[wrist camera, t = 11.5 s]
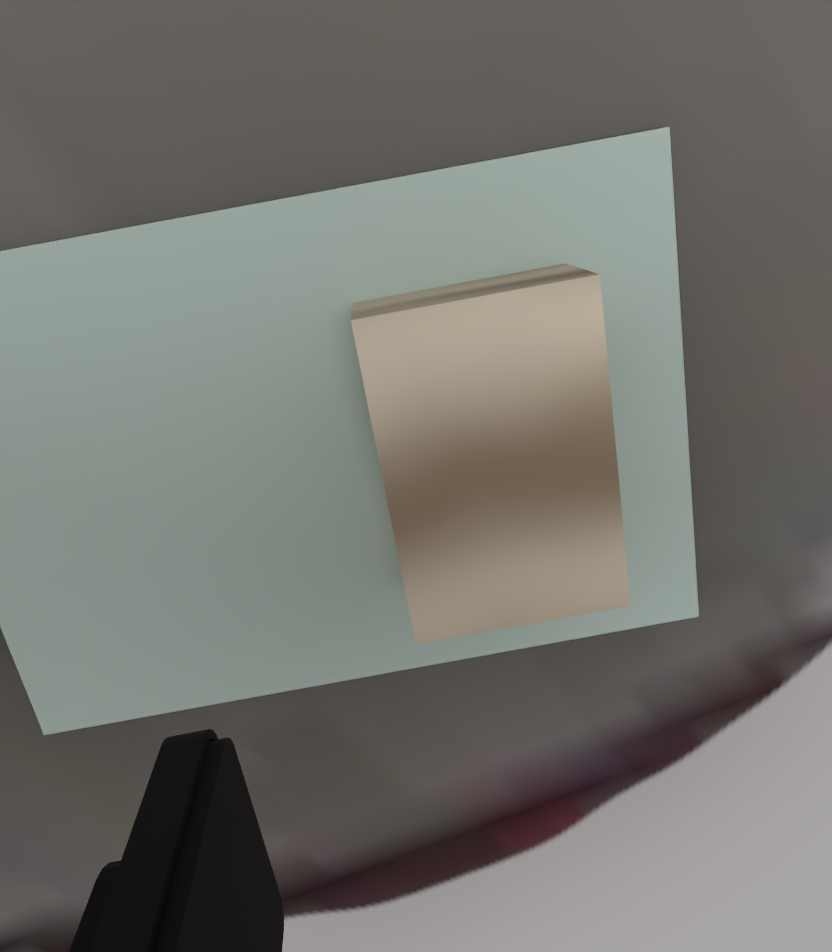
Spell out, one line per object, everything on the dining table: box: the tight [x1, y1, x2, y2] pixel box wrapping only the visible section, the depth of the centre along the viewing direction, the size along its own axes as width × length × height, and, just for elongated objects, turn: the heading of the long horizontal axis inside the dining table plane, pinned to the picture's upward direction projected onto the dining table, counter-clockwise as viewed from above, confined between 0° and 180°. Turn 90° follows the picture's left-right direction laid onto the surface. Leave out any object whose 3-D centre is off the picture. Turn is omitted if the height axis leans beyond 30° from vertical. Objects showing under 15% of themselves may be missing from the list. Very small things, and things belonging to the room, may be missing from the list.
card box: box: [351, 263, 631, 645], centre depth 22 cm, size 9×6×4 cm, turn 10°
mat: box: [0, 127, 699, 735], centre depth 24 cm, size 22×15×1 cm
